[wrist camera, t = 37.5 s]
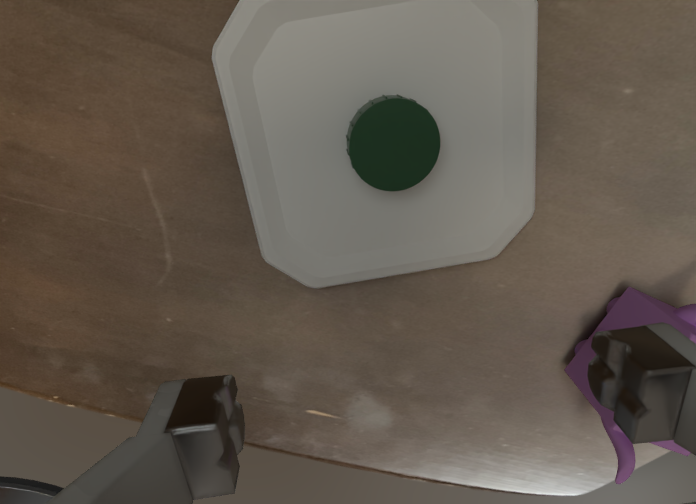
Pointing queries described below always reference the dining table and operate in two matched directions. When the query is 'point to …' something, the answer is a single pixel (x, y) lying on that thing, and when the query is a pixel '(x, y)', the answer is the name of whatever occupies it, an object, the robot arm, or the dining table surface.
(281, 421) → the dining table surface
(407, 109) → the lid
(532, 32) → the plate
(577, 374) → the teapot
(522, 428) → the dining table surface
